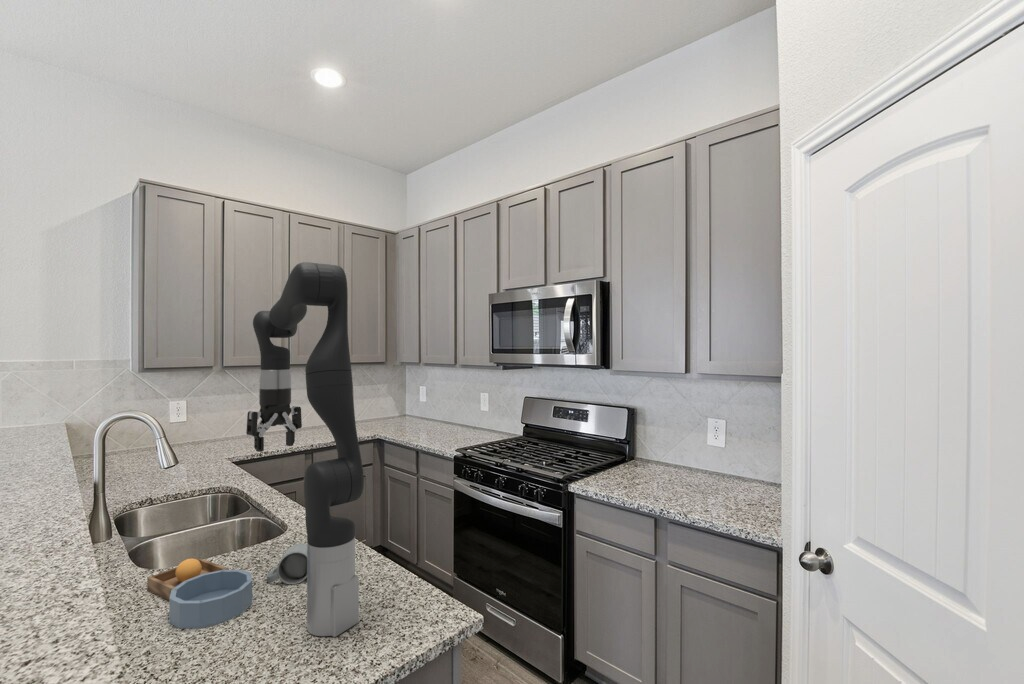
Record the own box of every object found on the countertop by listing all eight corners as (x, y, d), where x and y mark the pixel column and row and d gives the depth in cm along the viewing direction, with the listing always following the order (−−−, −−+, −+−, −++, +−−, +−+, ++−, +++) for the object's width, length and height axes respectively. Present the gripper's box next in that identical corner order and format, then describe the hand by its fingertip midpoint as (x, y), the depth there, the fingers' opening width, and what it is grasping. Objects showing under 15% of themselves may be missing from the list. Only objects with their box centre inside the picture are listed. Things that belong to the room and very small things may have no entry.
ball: (206, 579, 116) (206, 557, 116) (182, 588, 112) (182, 565, 112) (194, 574, 119) (194, 553, 119) (170, 583, 114) (171, 561, 114)
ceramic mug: (315, 567, 125) (315, 537, 125) (311, 582, 117) (311, 550, 117) (270, 574, 122) (269, 543, 122) (263, 589, 114) (262, 556, 114)
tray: (228, 581, 118) (228, 568, 118) (174, 603, 107) (174, 590, 107) (201, 570, 123) (201, 558, 124) (147, 590, 113) (147, 577, 113)
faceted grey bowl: (266, 601, 108) (266, 578, 108) (194, 636, 95) (194, 610, 95) (227, 585, 115) (227, 564, 115) (155, 615, 102) (155, 591, 102)
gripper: (258, 389, 120) (258, 455, 120) (308, 385, 132) (307, 445, 132) (240, 388, 124) (240, 452, 123) (290, 384, 136) (290, 442, 136)
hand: (275, 448), depth 128 cm, fingers open, 8 cm apart
